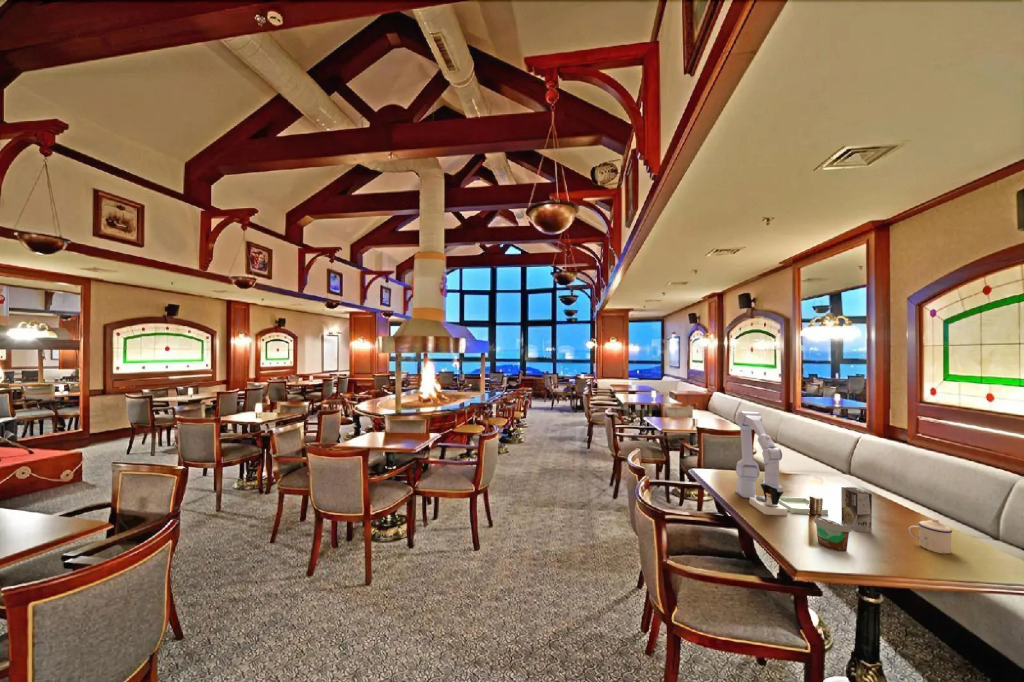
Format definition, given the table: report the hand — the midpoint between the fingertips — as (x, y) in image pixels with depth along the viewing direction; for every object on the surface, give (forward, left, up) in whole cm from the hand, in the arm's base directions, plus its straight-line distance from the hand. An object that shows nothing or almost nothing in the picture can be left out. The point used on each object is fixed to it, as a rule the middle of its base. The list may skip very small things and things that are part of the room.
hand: (771, 502), depth 195 cm
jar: (0, 0, -4) cm, 4 cm away
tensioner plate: (-3, 0, -4) cm, 5 cm away
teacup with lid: (+31, +43, -5) cm, 53 cm away
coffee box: (+14, +28, -5) cm, 32 cm away
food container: (+35, +2, -5) cm, 35 cm away
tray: (-7, +17, -4) cm, 19 cm away
